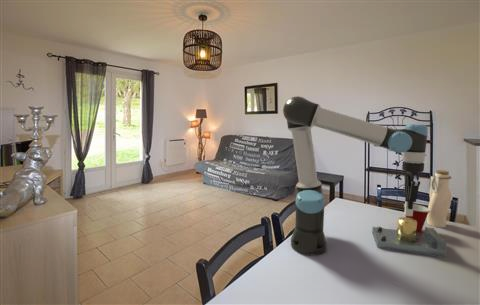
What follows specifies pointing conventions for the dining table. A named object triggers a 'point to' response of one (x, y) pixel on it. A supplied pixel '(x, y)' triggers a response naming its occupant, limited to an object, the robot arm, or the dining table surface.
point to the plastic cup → (419, 216)
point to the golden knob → (406, 229)
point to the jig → (422, 245)
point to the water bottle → (439, 199)
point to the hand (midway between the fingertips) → (408, 215)
